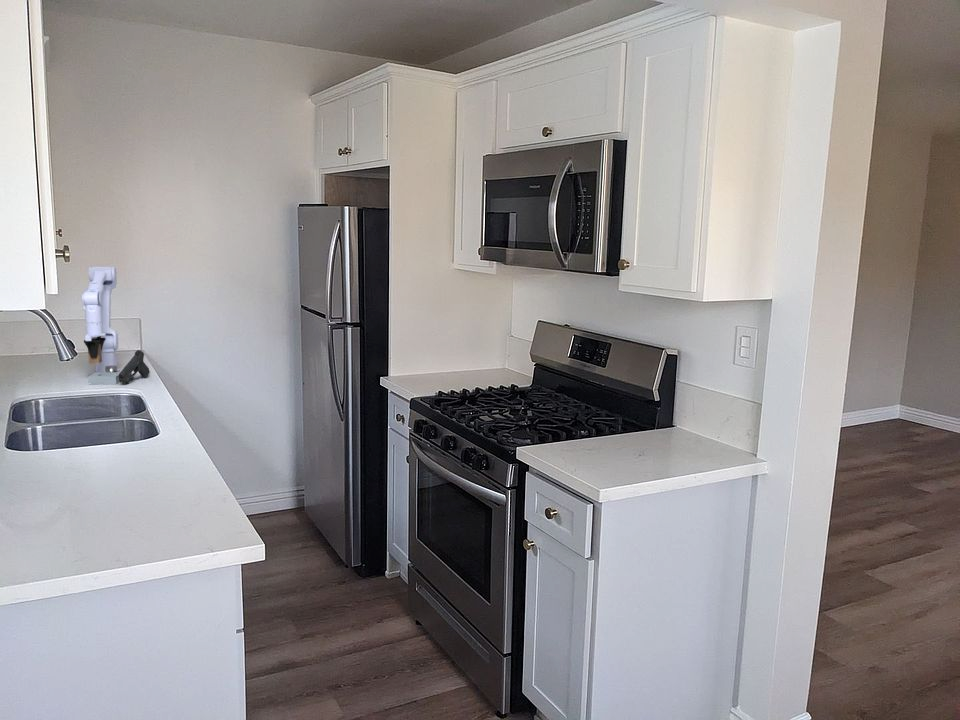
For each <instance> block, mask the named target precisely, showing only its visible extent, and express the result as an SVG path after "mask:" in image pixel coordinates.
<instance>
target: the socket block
mask: <svg viewBox="0 0 960 720" xmlns="http://www.w3.org/2000/svg"><path fill="white" fill-rule="evenodd" d="M120 372H121V371H120ZM120 372H119V371H118V372H101V373H94V372H93V373H94V374H93V373H92V374H91V375H89V376H87V383H91V384H90V385H118V384H119V383H120V382H119V377H118V376H119V373H120Z"/></svg>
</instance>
